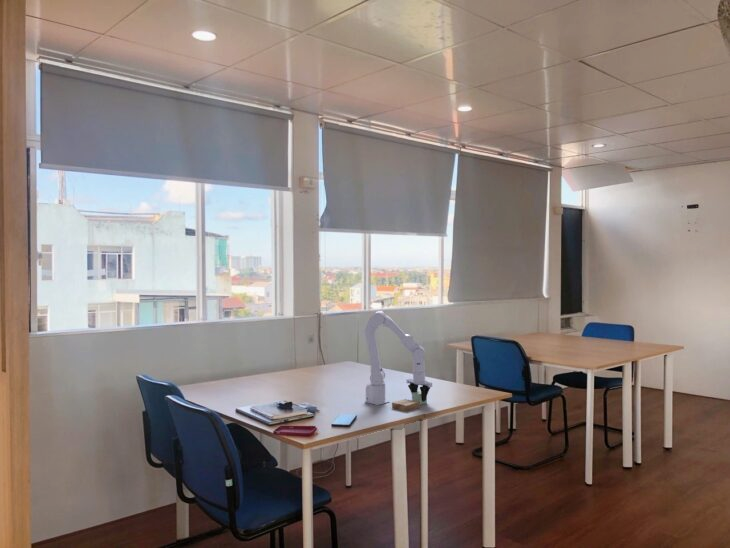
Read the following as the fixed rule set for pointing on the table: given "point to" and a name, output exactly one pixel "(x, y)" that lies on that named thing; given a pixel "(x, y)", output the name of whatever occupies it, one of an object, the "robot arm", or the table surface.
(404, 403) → the walnut block
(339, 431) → the table surface
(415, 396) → the green cube
